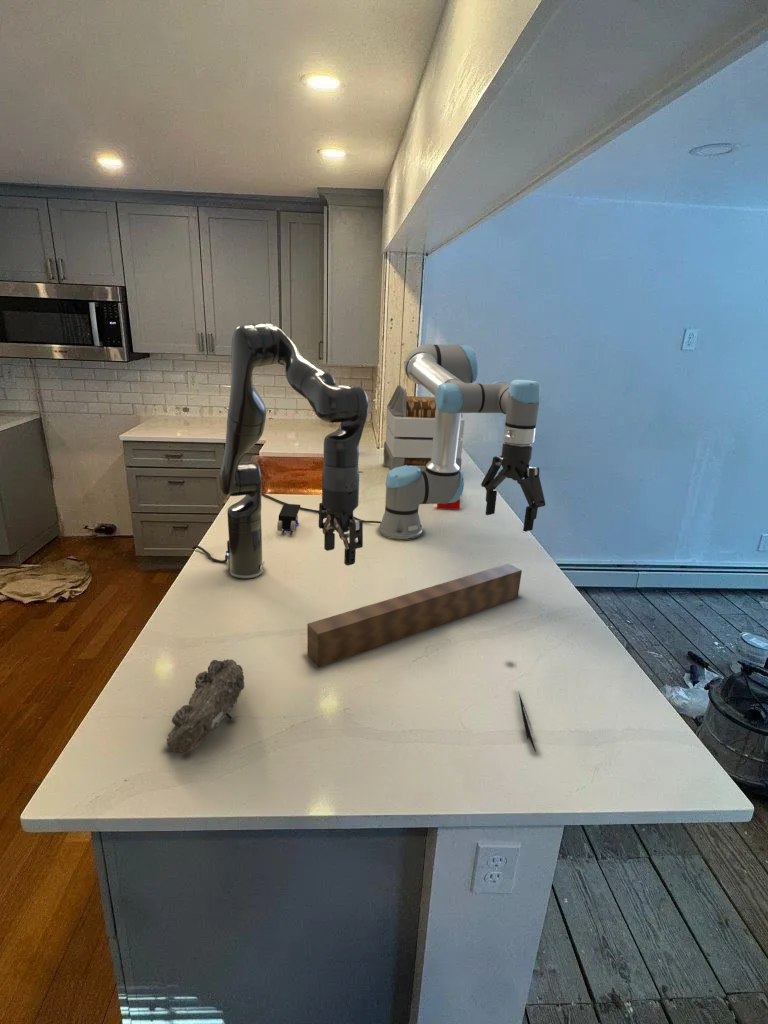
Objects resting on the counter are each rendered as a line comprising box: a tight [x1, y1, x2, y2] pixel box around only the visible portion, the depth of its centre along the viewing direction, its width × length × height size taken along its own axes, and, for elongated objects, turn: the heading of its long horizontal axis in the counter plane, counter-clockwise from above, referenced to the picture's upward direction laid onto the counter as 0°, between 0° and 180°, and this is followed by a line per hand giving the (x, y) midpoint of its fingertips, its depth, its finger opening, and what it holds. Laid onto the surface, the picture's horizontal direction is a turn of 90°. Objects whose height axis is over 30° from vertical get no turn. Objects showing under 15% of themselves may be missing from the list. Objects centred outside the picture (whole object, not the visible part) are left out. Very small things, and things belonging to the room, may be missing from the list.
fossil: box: [166, 658, 245, 754], centre depth 106 cm, size 22×10×15 cm
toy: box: [436, 496, 462, 510], centre depth 238 cm, size 12×13×30 cm
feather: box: [517, 691, 537, 753], centre depth 115 cm, size 2×28×2 cm
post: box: [306, 563, 523, 668], centre depth 142 cm, size 64×5×8 cm, turn 125°
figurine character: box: [276, 503, 301, 536], centre depth 198 cm, size 7×8×15 cm
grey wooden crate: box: [383, 384, 465, 472], centre depth 268 cm, size 34×33×41 cm
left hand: (339, 556), depth 121 cm, fingers open, 8 cm apart
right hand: (508, 522), depth 150 cm, fingers open, 13 cm apart
